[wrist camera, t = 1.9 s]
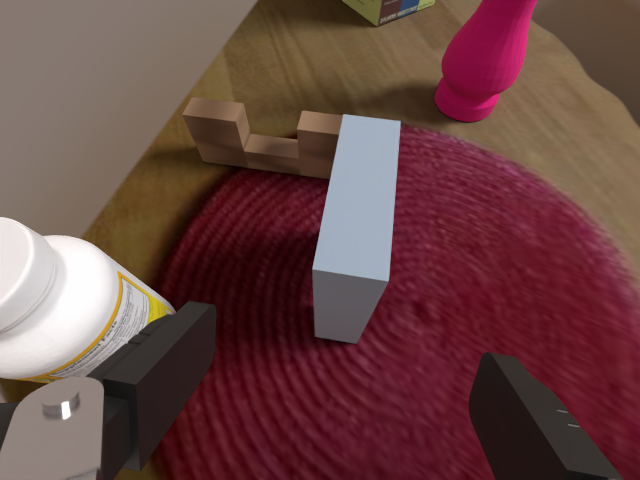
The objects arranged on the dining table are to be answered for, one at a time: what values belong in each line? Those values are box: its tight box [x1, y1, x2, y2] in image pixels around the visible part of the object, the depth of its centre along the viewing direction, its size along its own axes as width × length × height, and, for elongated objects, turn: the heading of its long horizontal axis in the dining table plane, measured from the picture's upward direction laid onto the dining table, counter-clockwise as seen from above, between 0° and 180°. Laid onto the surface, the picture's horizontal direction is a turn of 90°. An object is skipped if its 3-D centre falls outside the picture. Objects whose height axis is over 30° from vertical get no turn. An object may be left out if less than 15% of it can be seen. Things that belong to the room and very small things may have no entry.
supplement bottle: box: [0, 217, 176, 383], centre depth 17 cm, size 7×7×13 cm
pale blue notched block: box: [312, 114, 401, 344], centre depth 20 cm, size 9×3×12 cm, turn 170°
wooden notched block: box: [183, 97, 343, 179], centre depth 29 cm, size 17×2×6 cm, turn 80°
